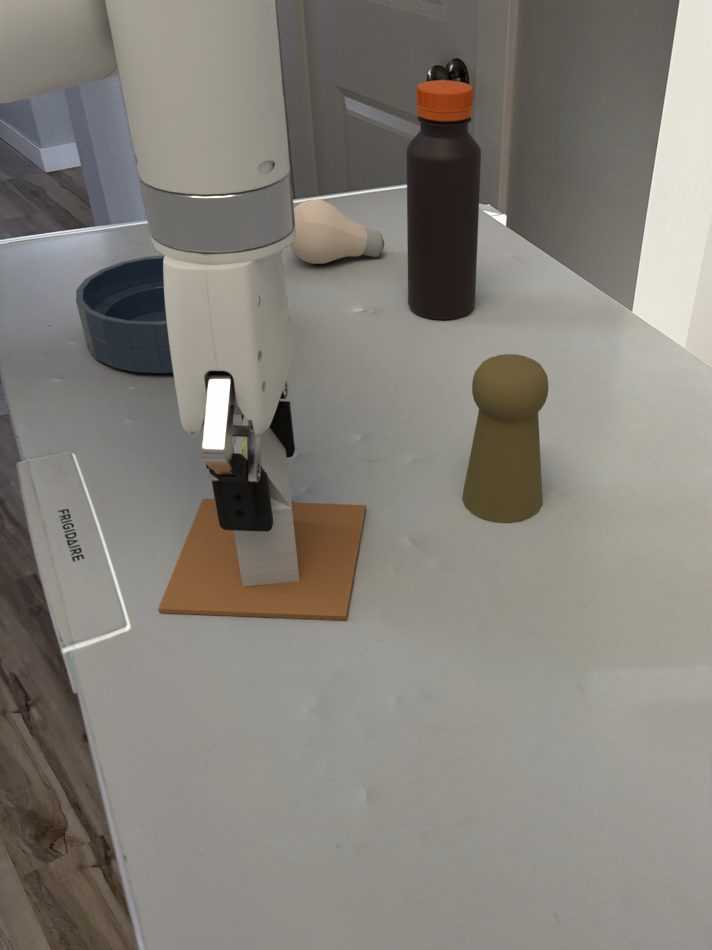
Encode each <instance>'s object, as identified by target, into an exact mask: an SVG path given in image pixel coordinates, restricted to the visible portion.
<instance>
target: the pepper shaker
mask: <svg viewBox="0 0 712 950" xmlns="http://www.w3.org/2000/svg"><path fill="white" fill-rule="evenodd" d="M471 387H472V388H471V393H472V397H473V401H474V403H475V405H476V406H477V408H478V413H477V418H476V423H475V429H474V432H473V433H474V434H473V438H472V439H473V440H472V443H471V449H470V454H469V460H468V464H467V470H466V475H465V480H464V486H463V491H462V497H461V498H462V499H461V500H462V502H463V505H464V507H465V509H467V510H468V511H469V512H470V513H471V514H472V515H474V516H476V517H478V518H480V519H481V520H486V521H489V522H490V521H491V522H494V523H505V524H506V523H508V524H509V523H515V522H523V521H524V520H527V519H529V518H532V517H533V516H535V515H536V514H537V513H538V512H540V510H541V508H542V506H543V505H544V503H543V501H544V500H543V481H542V460H541V446H540V445H541V443H540V442H541V441H540V423H539V412H540V411H541V410H542V409H543V407H544V405H545V404H546V402H547V399H548V394H549V379H548V374H547V372H546V371H545V369H544V367H543V365H541V364H540V363H539V362H538V361H536V360H535V359H532V358H530V357H528V356H525V355H520V354H515V353H505V354H504V353H503V354H497V355H495V356H491V357H488V358H487V359H485V360H483V361H482V362H481V363H480V365H479V366H478V367H477V369H476V370H475V371H474V374H473V377H472V385H471Z"/></svg>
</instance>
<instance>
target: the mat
mask: <svg viewBox="0 0 712 950" xmlns="http://www.w3.org/2000/svg"><path fill="white" fill-rule="evenodd" d="M291 504H292V514H293V524H294V533H295V543H296V552H297V562H298V572H299V581H296V582H286V583H276V584H266V585H256V586H246V587H243V586H242V580H241V573H240V567H239V561H238V554H237V548H236V542H235V535H234V530H224V529H222V528H221V527H220V525H219V519H218V514H217V508H216V503H215V498H202V499H201V501H200V504H199V507H198V509H197V512H196V515H195V517H194V520H193V522H192V525H191V527H190V530H189V532H188V534H187V537H186V539H185V541H184V544H183V547H182V549H181V551H180V554H179V556H178V558H177V561H176V564H175V566H174V568H173V571H172V573H171V577H170V579H169V581H168V584H167V586H166V589H165V591H164V593H163V595H162V597H161V601H160V603H159V606H158V613H159V614H177V615H178V614H179V615H200V616H201V615H205V616H227V617H228V616H229V617H253V618H276V619H277V618H278V619H301V620H302V619H303V620H327V621H328V620H331V621H347V620H348V614H349V610H350V602H351V599H352V593H353V586H354V580H355V575H356V570H357V564H358V558H359V551H360V547H361V540H362V535H363V529H364V524H365V518H366V512H367V505H366V504H353V503H352V504H349V503H348V504H347V503H346V504H345V503H326V502H325V503H323V502H322V503H321V502H319V503H318V502H300V501H299V502H297V501H291Z"/></svg>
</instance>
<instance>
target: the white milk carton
mask: <svg viewBox="0 0 712 950" xmlns="http://www.w3.org/2000/svg"><path fill="white" fill-rule="evenodd" d="M240 425H241V426H250V420H246V418H245V417H244V416H243V420H242V419H241V424H240ZM232 446H233V448H234V453H239V454H242V455H243V456H244V457H245V458H246V459H247V437H236V436H235V438H234V441H233V443H232ZM287 458H288V457H286V449H285V448H284V446H283V445H282V444H281V442H280V441H279V439H278V438H277V437H276V435H275V434H274V433H273V431H272V430H271V428H270V427H269V428H268V429H267V430H266V431H265V432H264V433H262V434H261V472H267V477H268V485H269V492H270V500H271V508H272V515H273V526H272V529H271V530H270V531H268V532H262V531H236V530H234V535H235V542H236V548H237V554H238V561H239V567H240V573H241V580H242V586H243V587H246V586H256V585H266V584H276V583H286V582H296V581H299V572H298V562H297V552H296V543H295V533H294V524H293V514H292V504H291V502H292V496H291V495H292V494H291V488H290V478H289V468H288V459H287Z"/></svg>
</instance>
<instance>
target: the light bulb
mask: <svg viewBox="0 0 712 950" xmlns="http://www.w3.org/2000/svg"><path fill="white" fill-rule="evenodd" d="M294 217H295V230H296V237H295V240H294V241H293V243H292V244H291V245H290V246H289V247H290V249H291V251H292V252H293V254H295V255H296V256H297V258H298V259H300V260H301V261H304V262H307V263H309V264H311V265H317V264H318V265H320V264H321V265H323V264H325V265H326V264H328V263H330V262H334V261H336V260H340V259H343V258H346V257H360V256H366V257H371V258H378V257H379V256H380V254H381V253H382V252H383V251H384V248H385V240H384V237H383V234H382V232H381V231H380V230H376V229H375V230H374V229H370V228H365V226H364V225H363V224H360V223H358V222H355V221H353V220H352V219H350V218H349V217H347V216H346V215H345V214H344V213H343V212H341V211H340V210H339V209H338V208H337V207H336V206H335V205H333V204H332V203H330V202H327V201H325V200H323V199H307V200H305V201H302V202H300V203H298V204H297V205H296V206H295V207H294Z"/></svg>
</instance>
